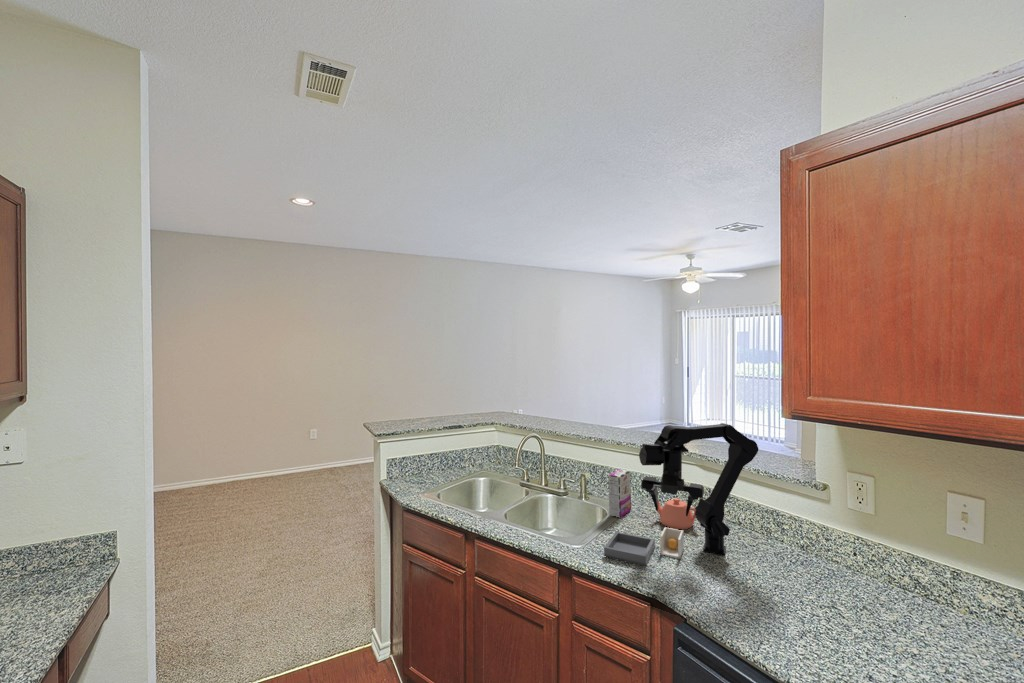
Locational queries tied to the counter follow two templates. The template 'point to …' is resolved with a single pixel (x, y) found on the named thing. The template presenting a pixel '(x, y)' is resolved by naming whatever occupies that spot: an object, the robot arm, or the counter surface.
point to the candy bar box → (619, 493)
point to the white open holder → (672, 534)
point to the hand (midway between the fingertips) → (671, 513)
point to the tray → (630, 548)
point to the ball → (672, 543)
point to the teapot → (676, 514)
